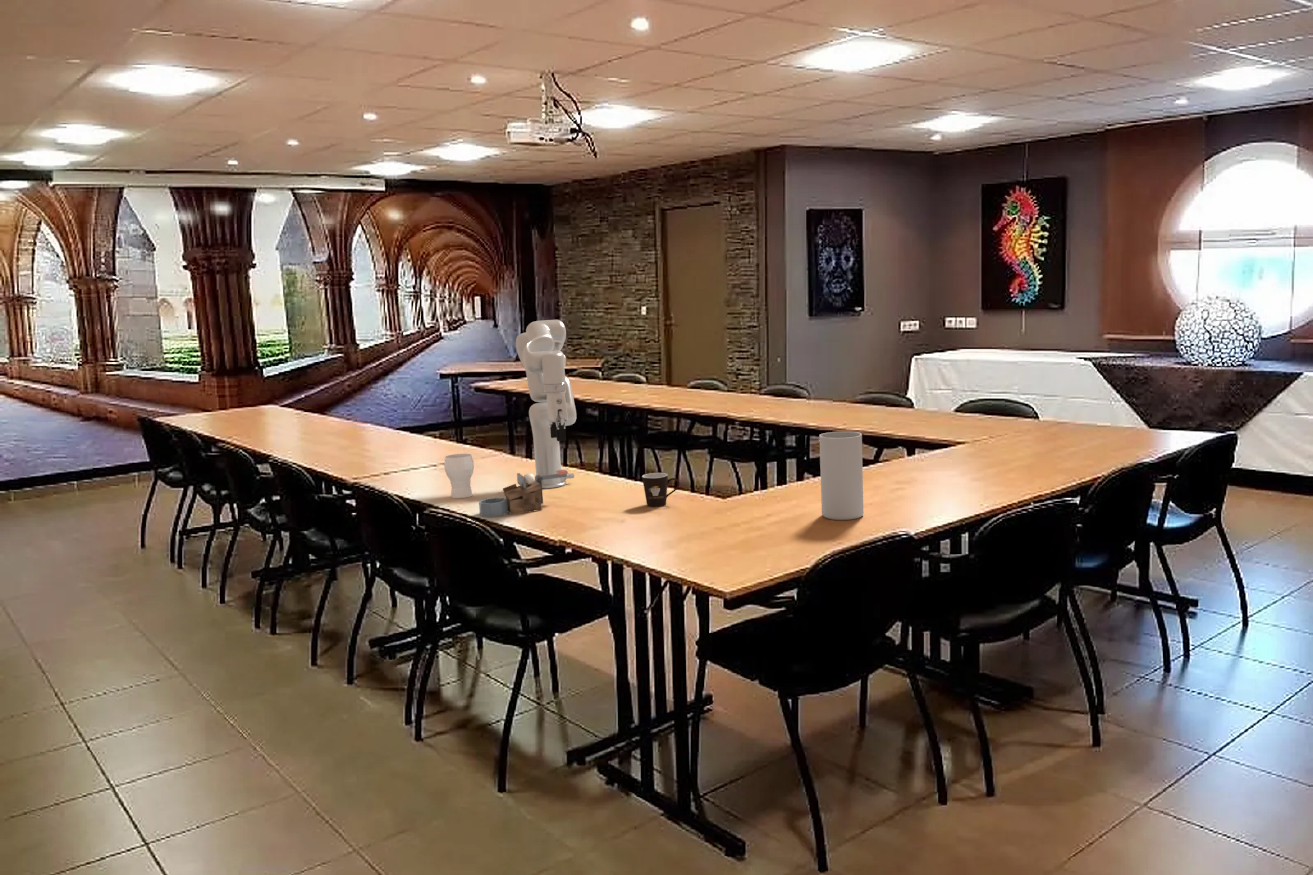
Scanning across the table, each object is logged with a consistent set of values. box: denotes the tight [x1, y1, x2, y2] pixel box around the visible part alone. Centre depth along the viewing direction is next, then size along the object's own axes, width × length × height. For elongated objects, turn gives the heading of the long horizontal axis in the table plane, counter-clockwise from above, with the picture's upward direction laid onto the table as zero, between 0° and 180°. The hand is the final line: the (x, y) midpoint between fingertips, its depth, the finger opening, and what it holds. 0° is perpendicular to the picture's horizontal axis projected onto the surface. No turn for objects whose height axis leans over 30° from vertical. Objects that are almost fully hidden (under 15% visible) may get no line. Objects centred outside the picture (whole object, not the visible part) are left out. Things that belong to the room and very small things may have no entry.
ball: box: [523, 472, 535, 485], centre depth 332 cm, size 4×4×4 cm
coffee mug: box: [641, 472, 681, 508], centre depth 328 cm, size 12×9×10 cm
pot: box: [478, 497, 509, 518], centre depth 329 cm, size 9×9×4 cm
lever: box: [516, 469, 569, 488], centre depth 335 cm, size 17×11×3 cm, turn 109°
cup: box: [443, 453, 475, 499], centre depth 360 cm, size 11×11×15 cm
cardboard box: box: [502, 474, 544, 515], centre depth 334 cm, size 14×12×10 cm
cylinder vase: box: [818, 431, 864, 521], centre depth 298 cm, size 12×12×25 cm
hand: (558, 438), depth 339 cm, fingers open, 8 cm apart
